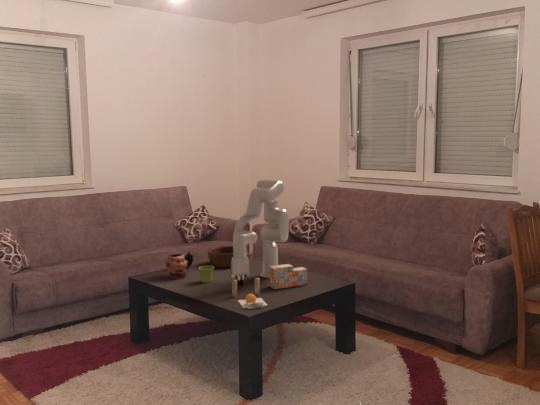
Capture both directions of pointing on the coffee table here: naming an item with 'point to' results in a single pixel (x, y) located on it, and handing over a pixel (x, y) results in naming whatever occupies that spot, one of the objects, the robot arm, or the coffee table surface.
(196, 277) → the coffee table surface
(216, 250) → the wooden bowl
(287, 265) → the stack of blocks
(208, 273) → the plant pot
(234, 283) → the post
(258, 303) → the stopper wall
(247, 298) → the ball
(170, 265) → the decorative planter
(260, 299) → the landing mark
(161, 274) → the coffee table surface
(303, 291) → the coffee table surface
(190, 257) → the controller
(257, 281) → the post
